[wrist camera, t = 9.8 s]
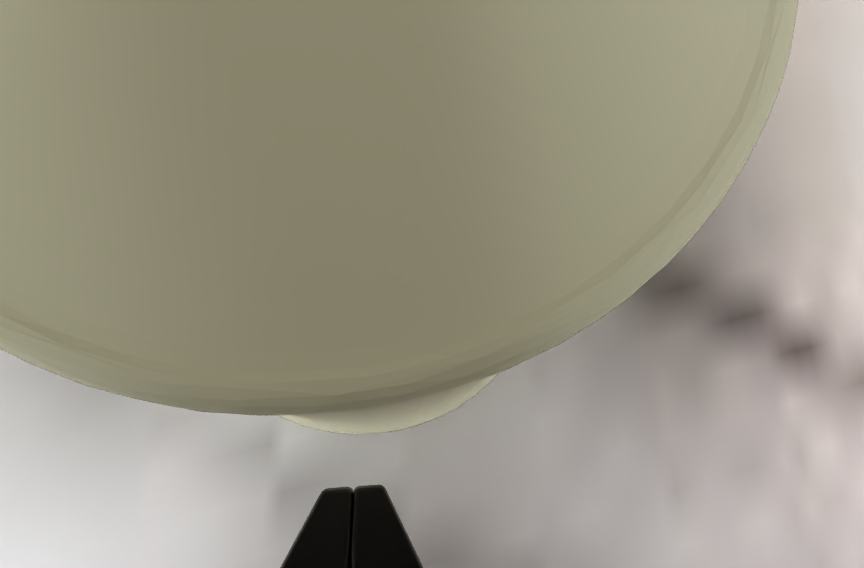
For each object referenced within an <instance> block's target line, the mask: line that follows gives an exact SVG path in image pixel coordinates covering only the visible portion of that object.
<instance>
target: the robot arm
mask: <svg viewBox="0 0 864 568" xmlns="http://www.w3.org/2000/svg"><path fill="white" fill-rule="evenodd" d="M280 568H423V566H422V564H421V562H420V559H419V557H418V555H417V553H416V551H415V549H414V547H413V545H412V543H411V541H410V539H409V536H408V534H407V532H406V530H405V528H404V526H403V524H402V522H401V520H400V518H399V516H398V514H397V511H396V509H395V507H394V505H393V503H392V501H391V499H390V497H389V495H388V493H387V491H386V489H385V488H384V486H382V485H368V486H358V487H356V488H355V490H354V491H353V489H352V488H350V487H340V488H327V489H325V490H323V491H322V492H321V494H320V495H319V497H318V499H317V501H316V503H315V505H314V506H313V508H312V510H311V512H310V514H309V516H308V517H307V519H306V521H305V523H304V525H303V527H302V529H301V530H300V532H299V534H298V536H297V538H296V540H295V541H294V543H293V545H292V547H291V549H290V551H289V552H288V554H287V556H286V558H285V560H284V562H283V564H282V565H281V567H280Z"/></svg>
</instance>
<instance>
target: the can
mask: <svg viewBox="0 0 864 568" xmlns="http://www.w3.org/2000/svg"><path fill="white" fill-rule="evenodd" d="M797 7H798V0H0V349H2V350H4V351H6V352H8V353H10V354H12V355H14V356H16V357H18V358H20V359H22V360H24V361H26V362H28V363H30V364H32V365H35V366H37V367H40V368H42V369H45V370H48V371H50V372H53V373H55V374H58V375H60V376H63V377H65V378H68V379H70V380H73V381H76V382H78V383H81V384H83V385H86V386H89V387H93V388H97V389H101V390H104V391H108V392H112V393H116V394H119V395H123V396H127V397H131V398H135V399H139V400H144V401H149V402H153V403H158V404H162V405H168V406H173V407H179V408H184V409H190V410H195V411H201V412H215V413H230V414H245V415H278V416H280V417H282V418H285V419H287V420H289V421H292V422H295V423H298V424H301V425H304V426H307V427H311V428H315V429H319V430H324V431H330V432H336V433H346V434H373V433H383V432H390V431H396V430H401V429H405V428H409V427H412V426H416V425H419V424H422V423H425V422H427V421H430V420H432V419H435V418H437V417H440V416H442V415H444V414H446V413H448V412H450V411H451V410H453V409H455V408H457V407H458V406H460V405H461V404H463V403H464V402H466V401H468V400H469V399H471V398H472V397H474V396H475V395H476V394H477V393H478V392H480V391H481V390H482V389H483V388H484V387H486V386H487V385H488V384H489V383H490V382H491V381H492V380H493V379H494V378H495V377H496V376H497V375H498V374H499V373H500V372H502V371H504V370H507V369H509V368H511V367H513V366H515V365H517V364H519V363H521V362H523V361H525V360H527V359H529V358H531V357H533V356H535V355H537V354H540V353H542V352H544V351H546V350H548V349H550V348H552V347H554V346H556V345H558V344H560V343H562V342H564V341H565V340H567V339H568V338H570V337H572V336H573V335H575V334H576V333H578V332H580V331H581V330H583V329H584V328H586V327H588V326H589V325H591V324H592V323H594V322H596V321H597V320H599V319H601V318H602V317H603V316H605V315H606V314H607V313H609V312H610V311H611V310H613V309H614V308H615V307H617V306H618V305H619V304H621V303H622V302H624V301H625V300H626V299H628V298H629V297H630V296H632V295H633V294H634V293H635V292H636V291H637V290H638V289H639V288H640V287H641V286H643V285H644V284H645V283H646V282H647V281H648V280H649V279H650V278H651V277H653V276H654V275H655V274H656V273H657V272H659V271H660V270H661V269H662V268H663V267H664V266H666V265H667V264H668V263H669V262H670V261H671V260H672V259H673V258H674V256H675V255H676V254H677V253H678V252H679V251H680V250H681V249H682V248H683V247H684V246H685V245H686V244H687V243H688V242H689V241H690V240H691V239H692V237H693V236H694V235H695V234H696V232H697V231H698V230H699V229H700V228H701V226H702V225H703V224H704V223H705V221H706V220H707V219H708V218H709V216H710V215H711V214H712V213H713V211H714V210H715V209H716V208H717V206H718V205H719V204H720V202H721V201H722V199H723V198H724V196H725V195H726V193H727V192H728V190H729V189H730V187H731V186H732V184H733V183H734V181H735V180H736V178H737V177H738V175H739V174H740V172H741V170H742V169H743V167H744V165H745V163H746V162H747V160H748V158H749V156H750V154H751V152H752V150H753V148H754V146H755V144H756V142H757V140H758V138H759V136H760V134H761V131H762V129H763V127H764V125H765V123H766V121H767V119H768V117H769V115H770V112H771V109H772V107H773V104H774V102H775V99H776V97H777V94H778V91H779V89H780V85H781V82H782V79H783V75H784V72H785V68H786V65H787V61H788V58H789V55H790V50H791V44H792V38H793V32H794V26H795V20H796V14H797Z"/></svg>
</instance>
